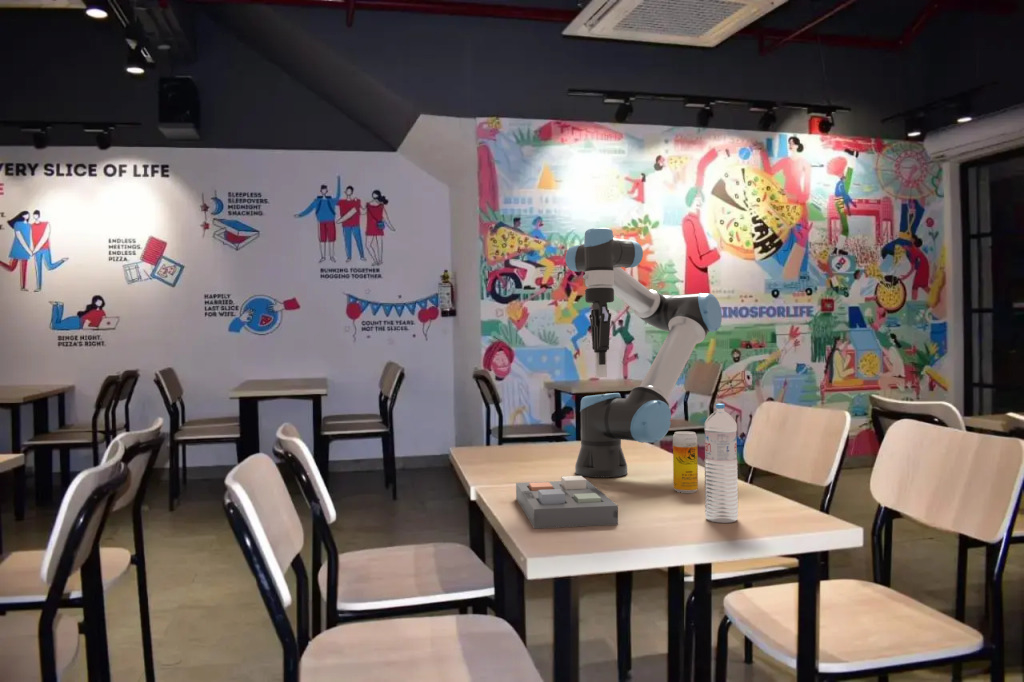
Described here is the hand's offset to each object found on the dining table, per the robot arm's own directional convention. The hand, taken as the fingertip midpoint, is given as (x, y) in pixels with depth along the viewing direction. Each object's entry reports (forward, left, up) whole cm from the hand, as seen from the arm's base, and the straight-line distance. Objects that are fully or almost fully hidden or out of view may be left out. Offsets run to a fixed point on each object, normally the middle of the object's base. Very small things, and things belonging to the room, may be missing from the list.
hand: (601, 377), depth 190 cm
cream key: (+11, +16, -26) cm, 33 cm away
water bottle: (-17, +37, -29) cm, 50 cm away
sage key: (+11, +30, -28) cm, 42 cm away
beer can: (-20, +8, -29) cm, 36 cm away
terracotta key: (+19, +16, -28) cm, 37 cm away
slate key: (+19, +30, -26) cm, 44 cm away
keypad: (+15, +23, -29) cm, 40 cm away
